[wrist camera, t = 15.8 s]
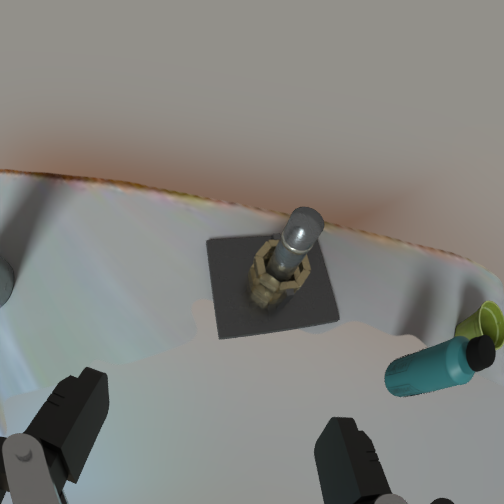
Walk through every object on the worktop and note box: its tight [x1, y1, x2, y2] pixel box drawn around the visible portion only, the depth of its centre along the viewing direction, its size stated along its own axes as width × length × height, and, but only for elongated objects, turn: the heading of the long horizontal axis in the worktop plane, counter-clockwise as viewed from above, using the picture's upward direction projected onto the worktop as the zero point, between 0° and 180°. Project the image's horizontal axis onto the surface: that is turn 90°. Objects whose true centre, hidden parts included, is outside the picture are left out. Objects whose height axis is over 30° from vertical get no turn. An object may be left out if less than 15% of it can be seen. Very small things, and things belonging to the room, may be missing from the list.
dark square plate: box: [206, 234, 340, 339], centre depth 42 cm, size 18×15×7 cm
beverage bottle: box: [385, 335, 496, 397], centre depth 32 cm, size 6×7×20 cm
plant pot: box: [455, 301, 504, 350], centre depth 43 cm, size 9×9×9 cm
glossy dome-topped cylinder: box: [263, 207, 324, 293], centre depth 37 cm, size 4×4×16 cm
